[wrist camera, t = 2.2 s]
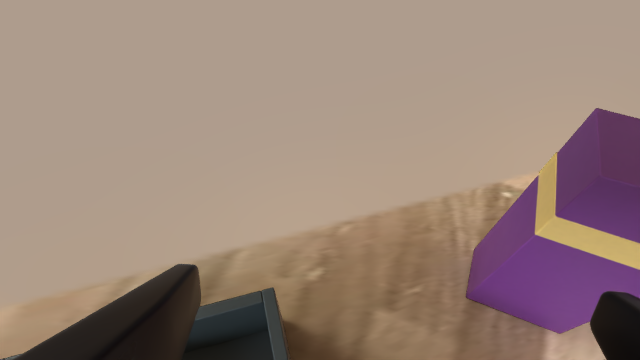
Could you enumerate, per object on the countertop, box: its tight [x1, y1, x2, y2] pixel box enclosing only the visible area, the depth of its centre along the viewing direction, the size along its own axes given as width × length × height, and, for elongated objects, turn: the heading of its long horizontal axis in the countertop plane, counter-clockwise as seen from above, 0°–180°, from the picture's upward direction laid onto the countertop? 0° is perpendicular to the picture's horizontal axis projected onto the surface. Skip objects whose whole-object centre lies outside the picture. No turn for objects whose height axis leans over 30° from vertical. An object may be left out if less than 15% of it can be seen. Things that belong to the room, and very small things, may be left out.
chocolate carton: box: [466, 108, 640, 334], centre depth 17 cm, size 4×6×13 cm, turn 67°
